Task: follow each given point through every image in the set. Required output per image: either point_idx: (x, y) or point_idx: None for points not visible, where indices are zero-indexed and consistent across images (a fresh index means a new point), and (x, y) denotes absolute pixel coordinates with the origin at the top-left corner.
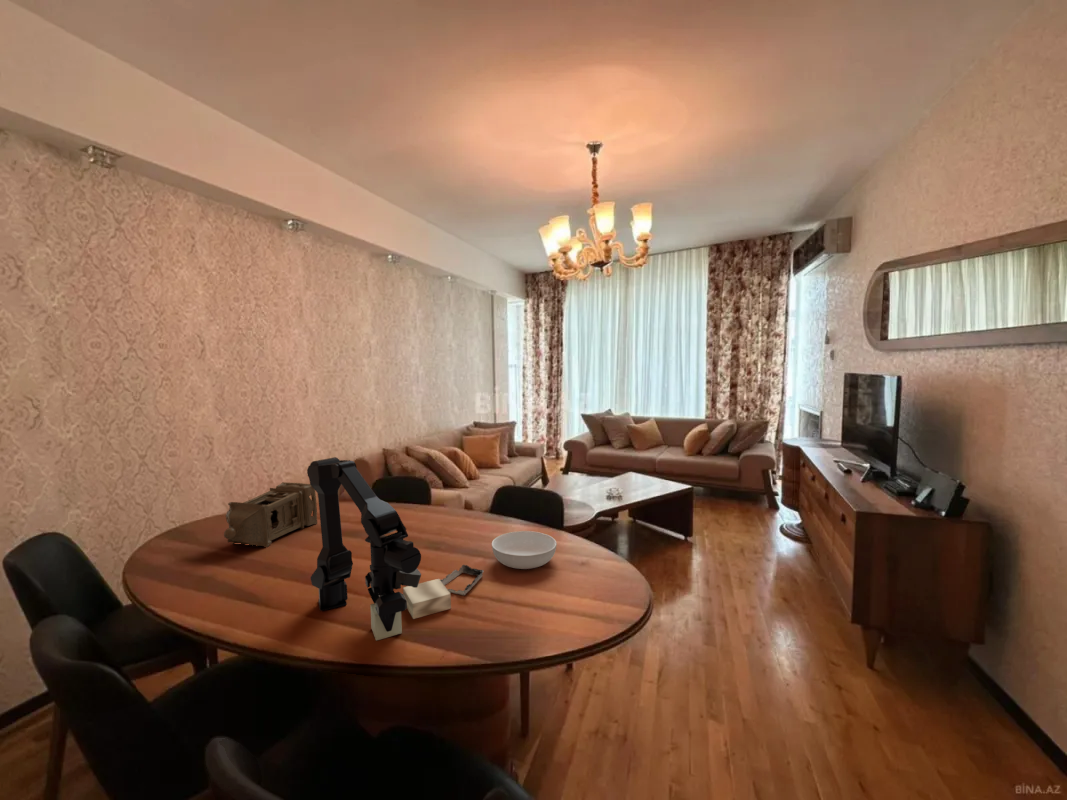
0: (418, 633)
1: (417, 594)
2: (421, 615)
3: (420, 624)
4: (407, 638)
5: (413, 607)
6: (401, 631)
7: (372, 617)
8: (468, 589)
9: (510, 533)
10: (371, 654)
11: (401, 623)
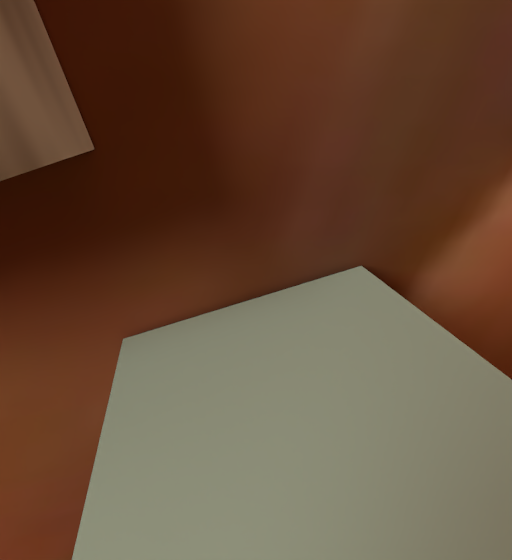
0: (424, 94)
1: None
2: (31, 5)
3: (250, 51)
4: (449, 210)
5: (35, 152)
6: (371, 275)
7: None
8: None
9: None
10: None
11: (423, 313)
